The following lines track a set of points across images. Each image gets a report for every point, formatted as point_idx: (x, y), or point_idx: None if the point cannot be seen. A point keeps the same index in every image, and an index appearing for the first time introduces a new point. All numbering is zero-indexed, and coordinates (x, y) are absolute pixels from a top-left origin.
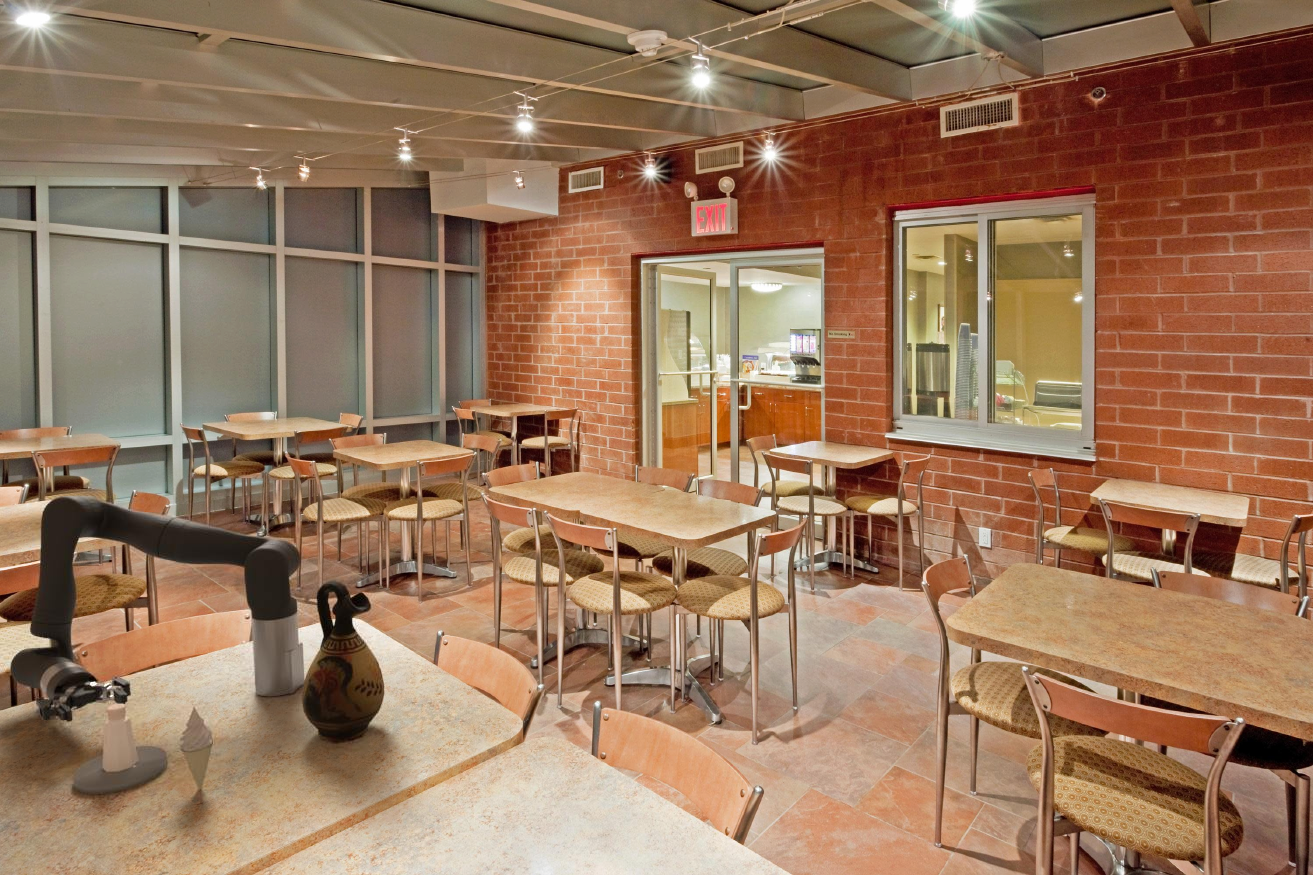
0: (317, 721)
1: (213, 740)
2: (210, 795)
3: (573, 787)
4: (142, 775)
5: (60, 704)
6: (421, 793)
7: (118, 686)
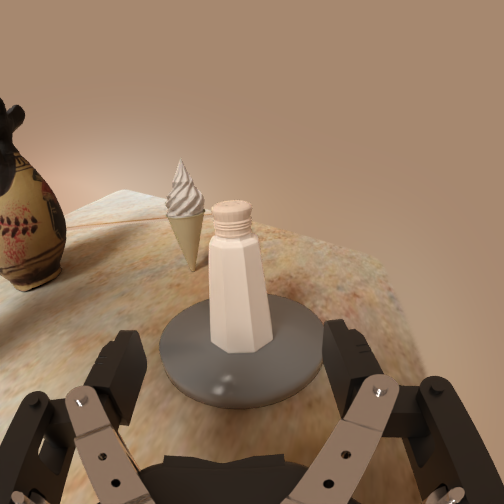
0: (64, 240)
1: (167, 213)
2: None
3: (90, 209)
4: None
5: (371, 380)
6: (118, 221)
7: (76, 391)
